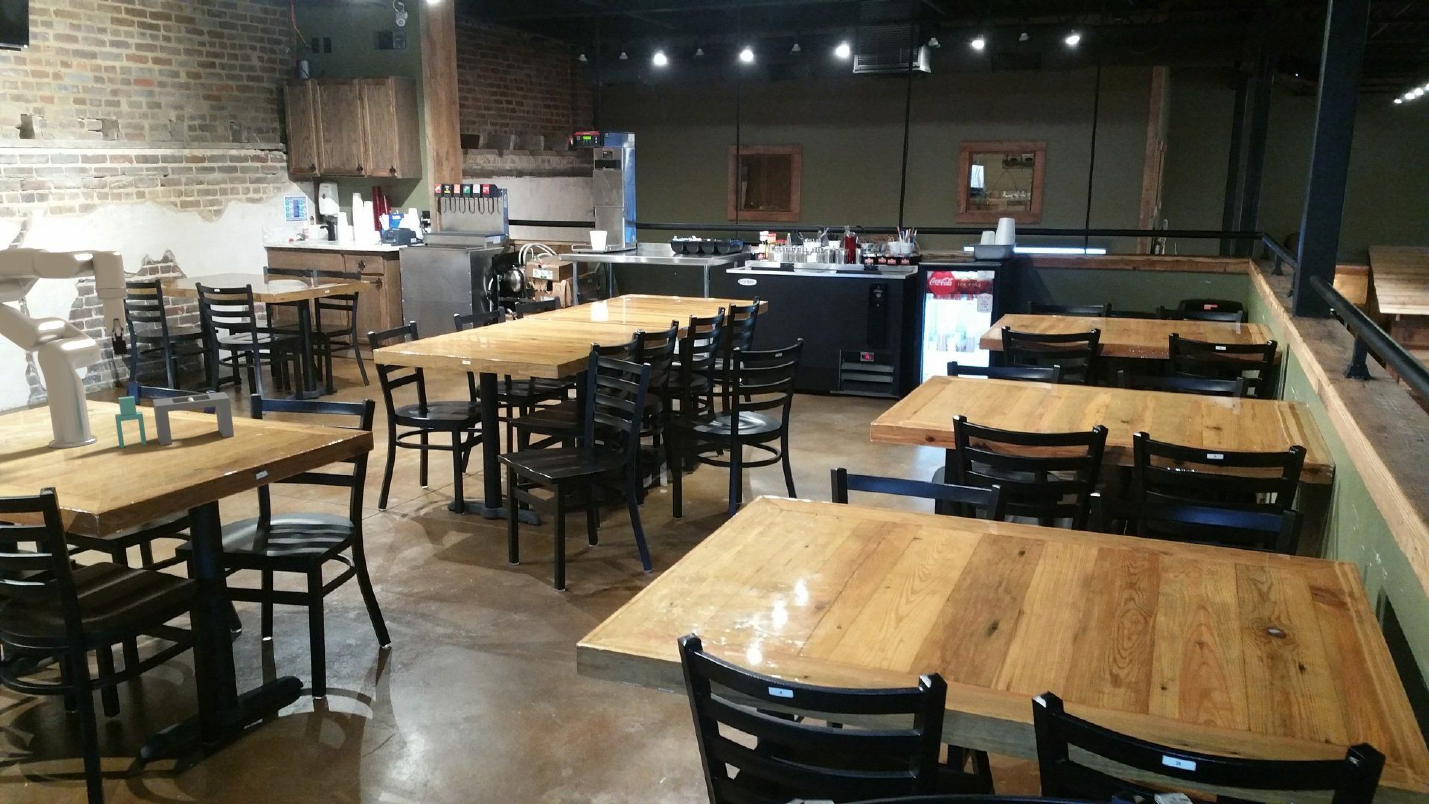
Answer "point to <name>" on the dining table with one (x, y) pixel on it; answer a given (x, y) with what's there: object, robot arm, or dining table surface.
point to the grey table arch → (191, 403)
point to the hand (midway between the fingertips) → (120, 352)
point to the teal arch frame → (129, 418)
